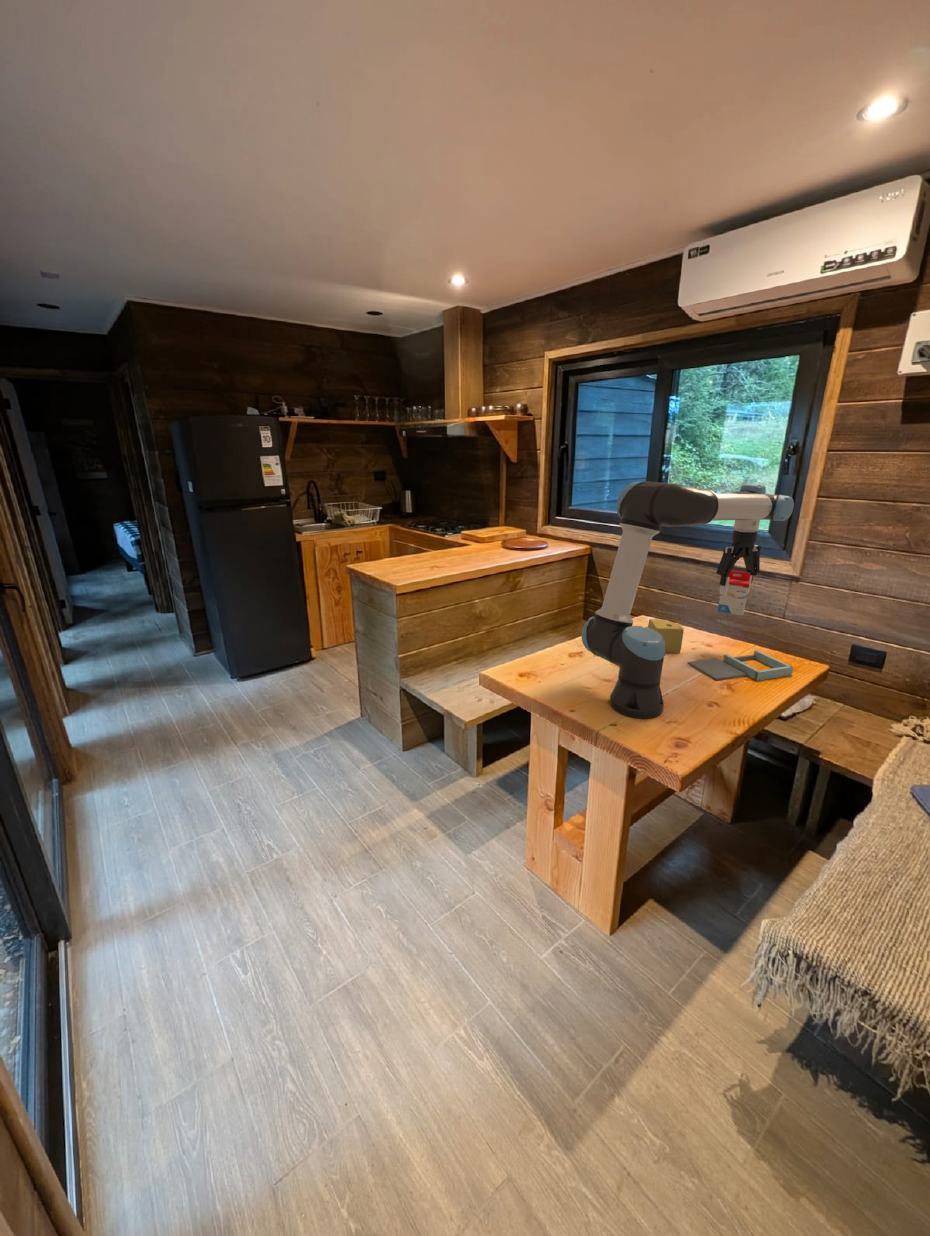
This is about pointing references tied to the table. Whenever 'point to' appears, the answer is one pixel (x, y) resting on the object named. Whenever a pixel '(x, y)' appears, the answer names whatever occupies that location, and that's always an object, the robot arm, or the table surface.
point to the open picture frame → (777, 670)
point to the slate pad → (716, 669)
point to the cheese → (668, 634)
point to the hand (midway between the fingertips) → (734, 593)
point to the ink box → (735, 594)
